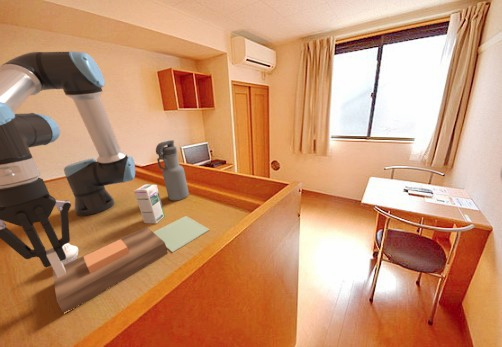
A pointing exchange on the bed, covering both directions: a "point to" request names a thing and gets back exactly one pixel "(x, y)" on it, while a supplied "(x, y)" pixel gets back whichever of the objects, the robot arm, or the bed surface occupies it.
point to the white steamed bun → (70, 253)
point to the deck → (106, 270)
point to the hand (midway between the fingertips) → (61, 273)
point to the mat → (180, 233)
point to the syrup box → (150, 203)
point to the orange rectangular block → (105, 255)
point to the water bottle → (172, 171)
